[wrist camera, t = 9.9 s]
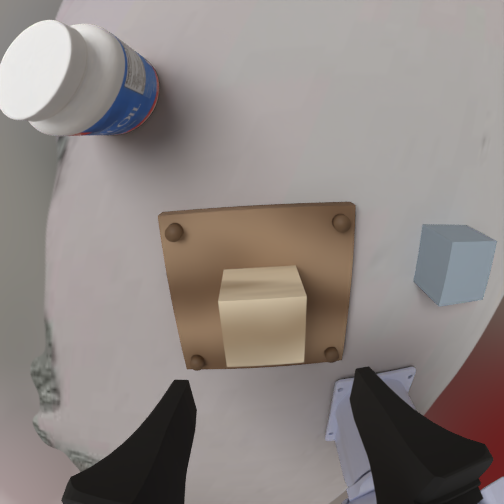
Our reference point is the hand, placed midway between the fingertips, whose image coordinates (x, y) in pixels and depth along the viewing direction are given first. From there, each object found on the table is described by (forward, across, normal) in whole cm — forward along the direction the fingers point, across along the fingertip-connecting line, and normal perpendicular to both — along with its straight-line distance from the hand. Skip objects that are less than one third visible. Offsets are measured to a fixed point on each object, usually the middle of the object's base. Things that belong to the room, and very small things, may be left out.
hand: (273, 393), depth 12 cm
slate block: (+10, -14, -2) cm, 17 cm away
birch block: (+8, 0, 0) cm, 8 cm away
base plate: (+9, 0, 0) cm, 9 cm away
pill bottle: (+10, +8, -14) cm, 19 cm away
